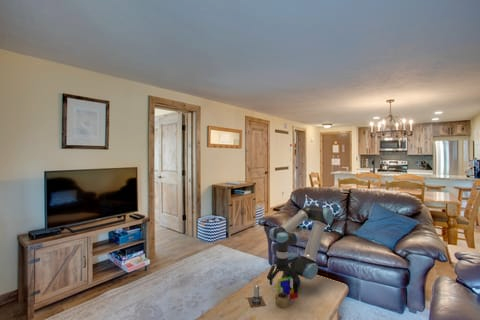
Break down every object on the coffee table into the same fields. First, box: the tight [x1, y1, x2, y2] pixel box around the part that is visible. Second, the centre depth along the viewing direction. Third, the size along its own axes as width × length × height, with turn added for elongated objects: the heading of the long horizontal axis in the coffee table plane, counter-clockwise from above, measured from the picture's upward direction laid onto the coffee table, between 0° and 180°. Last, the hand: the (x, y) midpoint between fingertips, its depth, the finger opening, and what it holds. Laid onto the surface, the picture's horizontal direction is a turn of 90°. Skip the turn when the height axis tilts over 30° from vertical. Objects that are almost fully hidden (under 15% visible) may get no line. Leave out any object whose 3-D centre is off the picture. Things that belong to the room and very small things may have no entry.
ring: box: [275, 292, 290, 309], centre depth 166 cm, size 8×8×6 cm
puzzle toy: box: [277, 277, 299, 300], centre depth 177 cm, size 10×10×10 cm
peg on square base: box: [247, 284, 267, 308], centre depth 168 cm, size 10×10×12 cm
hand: (281, 288), depth 165 cm, fingers open, 13 cm apart
